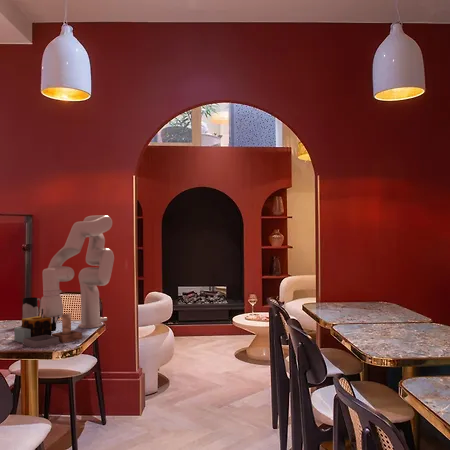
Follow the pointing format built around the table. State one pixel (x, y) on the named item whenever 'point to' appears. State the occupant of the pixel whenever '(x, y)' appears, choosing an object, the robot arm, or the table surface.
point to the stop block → (21, 334)
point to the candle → (38, 325)
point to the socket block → (68, 336)
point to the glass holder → (30, 307)
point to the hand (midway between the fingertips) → (52, 330)
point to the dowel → (66, 324)
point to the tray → (41, 341)
